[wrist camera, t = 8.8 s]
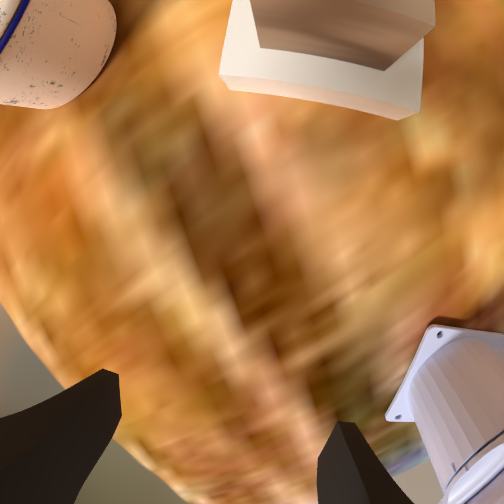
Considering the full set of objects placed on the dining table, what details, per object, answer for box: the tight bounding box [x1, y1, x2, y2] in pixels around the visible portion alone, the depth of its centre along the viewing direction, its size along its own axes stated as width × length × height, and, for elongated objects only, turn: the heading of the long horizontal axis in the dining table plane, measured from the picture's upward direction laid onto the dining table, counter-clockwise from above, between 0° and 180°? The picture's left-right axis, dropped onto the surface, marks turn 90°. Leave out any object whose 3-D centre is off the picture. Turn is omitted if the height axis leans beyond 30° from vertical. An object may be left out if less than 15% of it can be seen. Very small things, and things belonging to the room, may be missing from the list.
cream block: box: [219, 0, 424, 121], centre depth 13 cm, size 9×9×4 cm
